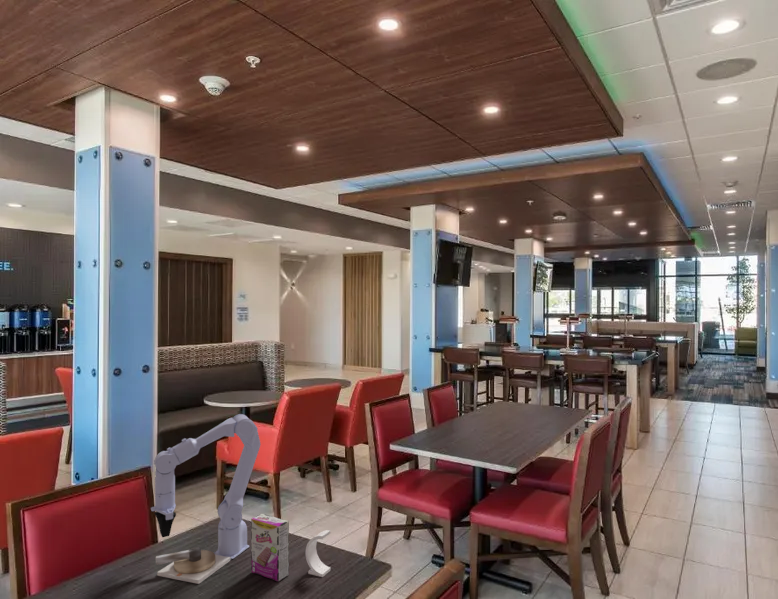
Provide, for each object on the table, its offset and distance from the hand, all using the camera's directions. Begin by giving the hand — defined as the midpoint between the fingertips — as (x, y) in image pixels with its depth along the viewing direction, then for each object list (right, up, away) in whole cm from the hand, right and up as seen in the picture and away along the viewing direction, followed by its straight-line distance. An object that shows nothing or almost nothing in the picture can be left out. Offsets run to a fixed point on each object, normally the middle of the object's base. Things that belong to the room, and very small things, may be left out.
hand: (165, 535), depth 166 cm
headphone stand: (+48, -9, -4) cm, 49 cm away
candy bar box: (+34, -9, -5) cm, 35 cm away
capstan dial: (+7, -8, -2) cm, 11 cm away
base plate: (+10, -9, -1) cm, 14 cm away
